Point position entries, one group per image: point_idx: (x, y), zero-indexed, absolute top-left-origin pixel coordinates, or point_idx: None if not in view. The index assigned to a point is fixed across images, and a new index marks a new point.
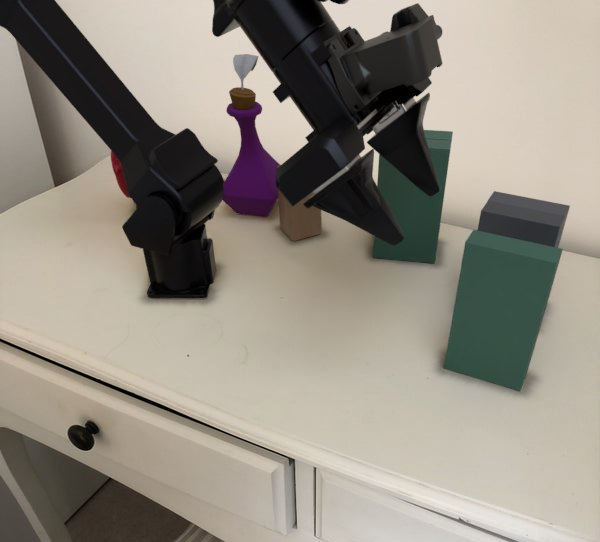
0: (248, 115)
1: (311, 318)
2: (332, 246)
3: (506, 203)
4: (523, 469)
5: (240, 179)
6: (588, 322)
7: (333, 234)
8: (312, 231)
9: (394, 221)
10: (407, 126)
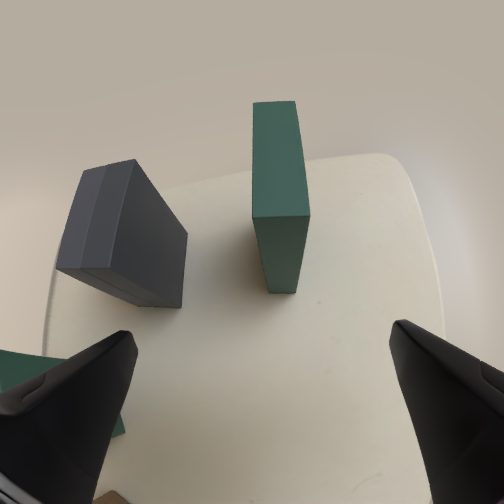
0: None
1: (275, 462)
2: (126, 477)
3: (84, 239)
4: (377, 193)
5: None
6: (161, 194)
7: (106, 477)
8: (119, 499)
9: (427, 338)
10: (17, 446)
